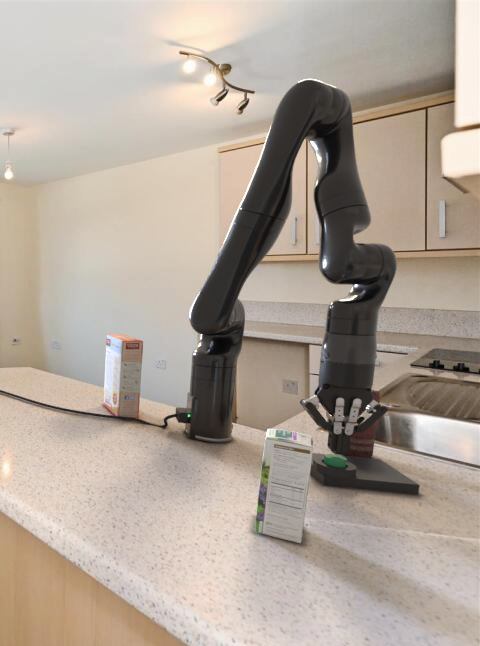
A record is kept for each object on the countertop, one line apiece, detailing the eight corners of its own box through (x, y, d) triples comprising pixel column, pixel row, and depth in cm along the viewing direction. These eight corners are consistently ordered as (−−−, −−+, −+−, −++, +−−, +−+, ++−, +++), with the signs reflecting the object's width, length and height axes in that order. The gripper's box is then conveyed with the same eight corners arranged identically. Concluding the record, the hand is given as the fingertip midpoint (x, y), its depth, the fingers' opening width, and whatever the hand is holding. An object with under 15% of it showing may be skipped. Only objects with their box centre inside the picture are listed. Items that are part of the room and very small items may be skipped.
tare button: (328, 467, 84) (329, 459, 83) (320, 460, 87) (321, 452, 86) (349, 469, 83) (350, 461, 83) (340, 462, 86) (341, 454, 86)
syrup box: (256, 516, 73) (264, 426, 71) (303, 527, 70) (312, 434, 68) (254, 532, 68) (262, 437, 66) (303, 545, 65) (314, 445, 63)
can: (380, 461, 95) (389, 393, 93) (345, 458, 96) (352, 392, 94) (362, 450, 100) (370, 386, 98) (328, 448, 102) (335, 385, 100)
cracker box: (140, 419, 123) (144, 340, 120) (117, 419, 123) (120, 340, 120) (123, 404, 136) (126, 333, 134) (102, 404, 136) (105, 333, 134)
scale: (320, 486, 83) (322, 467, 83) (293, 460, 95) (294, 443, 95) (420, 496, 79) (423, 477, 79) (378, 468, 91) (380, 450, 91)
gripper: (379, 356, 84) (369, 449, 86) (295, 353, 87) (287, 442, 90) (406, 363, 77) (394, 464, 79) (313, 360, 80) (304, 457, 83)
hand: (337, 452), depth 84 cm, fingers closed
